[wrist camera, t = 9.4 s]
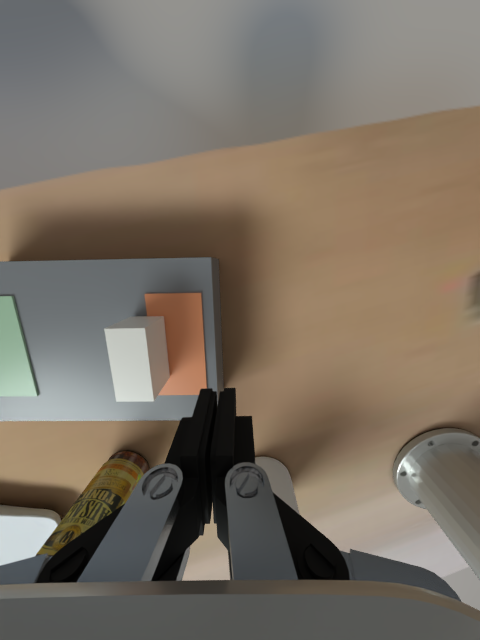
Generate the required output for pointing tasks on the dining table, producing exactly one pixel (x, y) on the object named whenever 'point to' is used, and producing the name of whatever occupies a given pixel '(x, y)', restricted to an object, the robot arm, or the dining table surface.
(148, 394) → the switch knob
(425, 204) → the dining table surface
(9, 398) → the switch box
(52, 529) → the salad plate
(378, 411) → the dining table surface
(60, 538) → the sauce bottle
